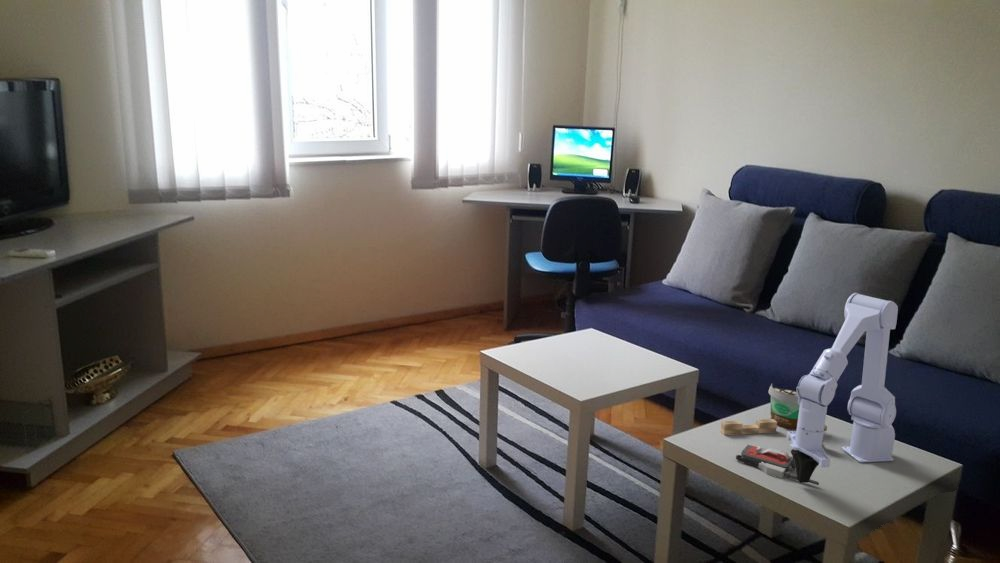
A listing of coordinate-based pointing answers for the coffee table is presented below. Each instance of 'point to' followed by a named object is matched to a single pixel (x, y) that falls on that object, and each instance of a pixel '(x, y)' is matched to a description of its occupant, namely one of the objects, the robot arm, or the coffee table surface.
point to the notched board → (748, 427)
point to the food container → (784, 407)
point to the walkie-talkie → (770, 461)
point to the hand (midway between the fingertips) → (803, 481)
